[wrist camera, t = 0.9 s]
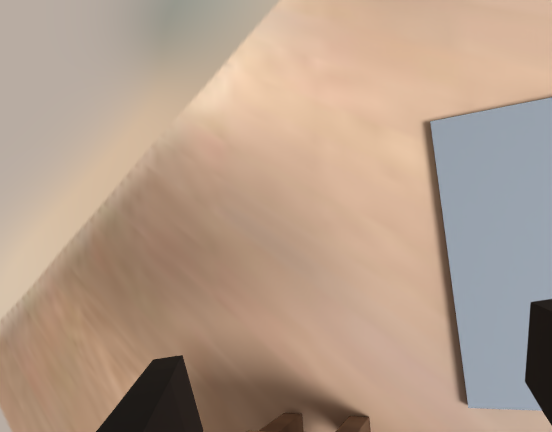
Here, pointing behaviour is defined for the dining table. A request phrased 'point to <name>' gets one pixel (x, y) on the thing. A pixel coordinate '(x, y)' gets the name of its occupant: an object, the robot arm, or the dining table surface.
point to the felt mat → (497, 240)
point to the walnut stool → (290, 425)
